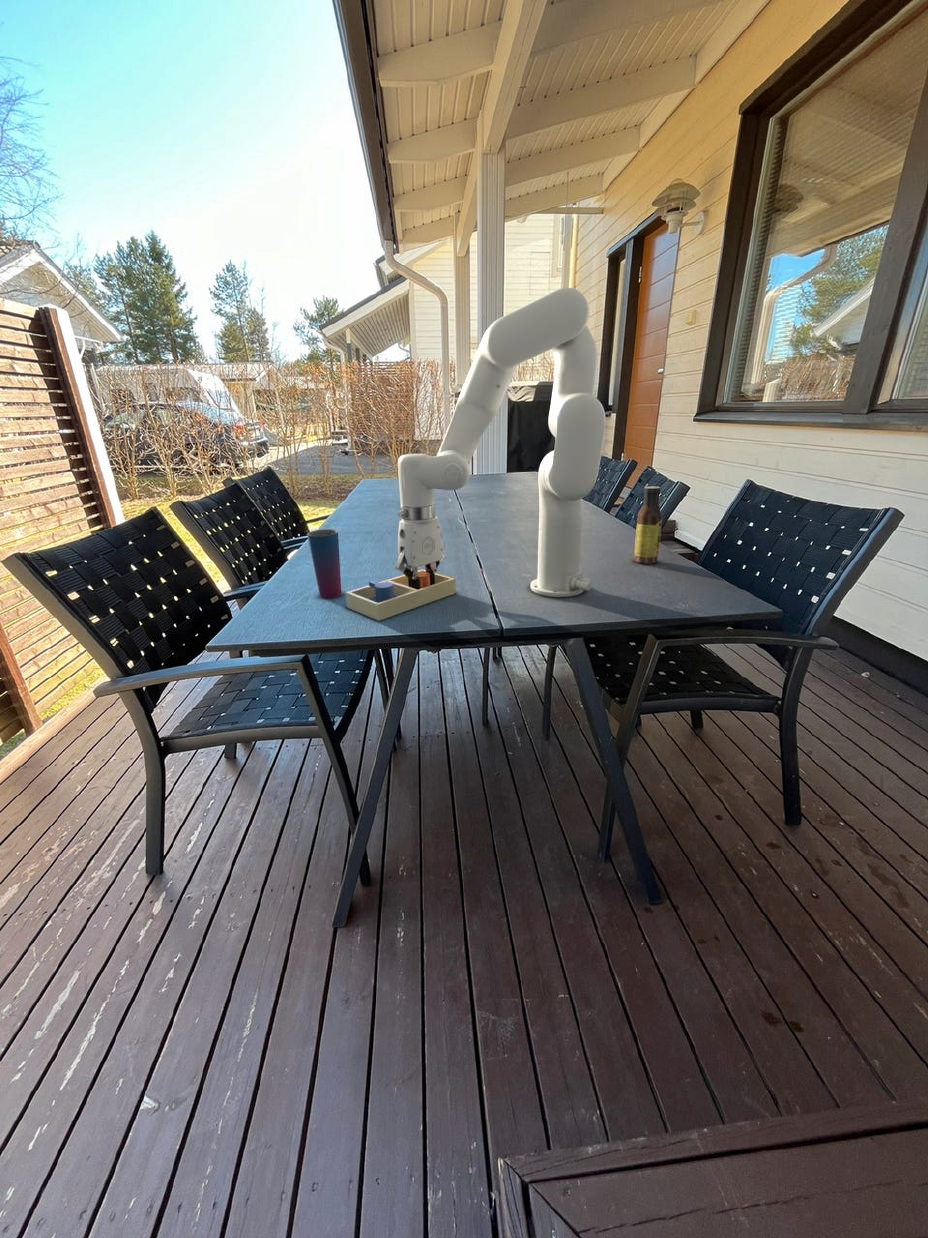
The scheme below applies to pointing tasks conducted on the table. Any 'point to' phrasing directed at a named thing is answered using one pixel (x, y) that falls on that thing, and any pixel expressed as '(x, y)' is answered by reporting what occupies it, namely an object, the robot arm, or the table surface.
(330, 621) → the table surface
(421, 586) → the orange scoop
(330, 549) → the cup
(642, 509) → the sauce bottle
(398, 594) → the sorter
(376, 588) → the blue scoop
